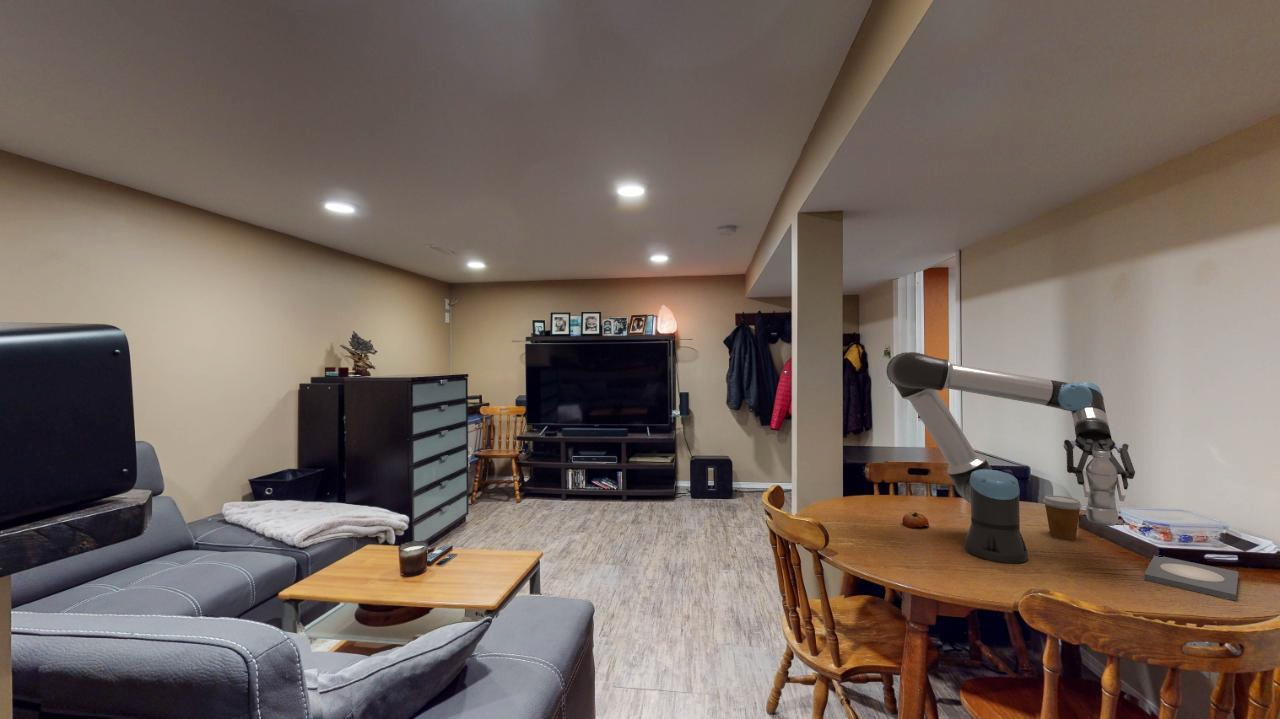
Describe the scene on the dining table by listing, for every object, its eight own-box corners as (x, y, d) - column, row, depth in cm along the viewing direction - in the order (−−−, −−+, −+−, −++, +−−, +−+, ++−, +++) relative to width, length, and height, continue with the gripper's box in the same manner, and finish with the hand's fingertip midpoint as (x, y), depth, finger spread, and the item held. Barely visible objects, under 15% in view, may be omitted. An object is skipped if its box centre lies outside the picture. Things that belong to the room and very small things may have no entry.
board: (1235, 601, 115) (1235, 593, 115) (1144, 579, 127) (1144, 573, 127) (1238, 577, 127) (1238, 571, 127) (1154, 560, 139) (1154, 554, 139)
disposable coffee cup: (1091, 541, 154) (1090, 502, 154) (1060, 541, 154) (1059, 503, 154) (1065, 531, 163) (1064, 495, 164) (1036, 531, 164) (1035, 495, 164)
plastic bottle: (1111, 522, 134) (1111, 449, 134) (1123, 530, 128) (1122, 453, 128) (1081, 519, 137) (1080, 447, 137) (1091, 526, 131) (1090, 451, 131)
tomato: (895, 521, 171) (905, 503, 173) (901, 530, 175) (910, 513, 177) (919, 530, 165) (928, 512, 167) (925, 540, 168) (934, 522, 170)
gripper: (1134, 438, 140) (1152, 510, 126) (1047, 433, 151) (1056, 498, 137) (1139, 421, 136) (1159, 493, 122) (1050, 417, 146) (1058, 483, 133)
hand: (1104, 496), depth 130 cm, fingers closed on plastic bottle, 6 cm apart
